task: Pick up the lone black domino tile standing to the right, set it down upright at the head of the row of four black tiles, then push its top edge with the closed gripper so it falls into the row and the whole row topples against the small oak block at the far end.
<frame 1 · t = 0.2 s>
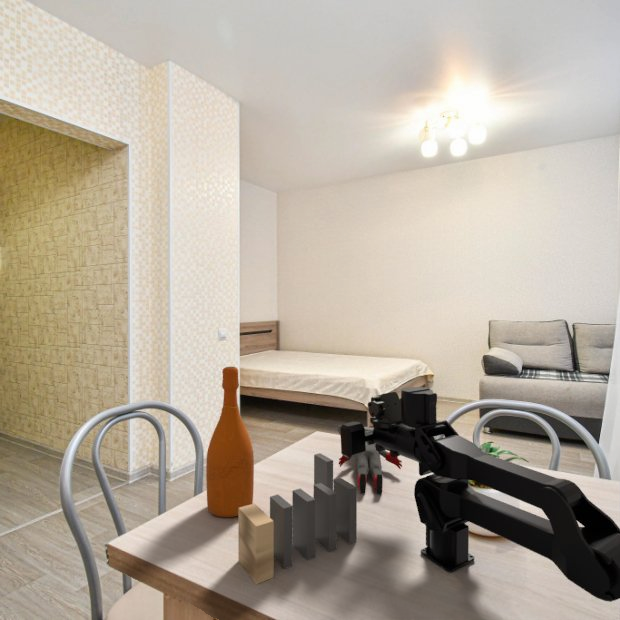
hand: (354, 423, 94), 17 cm above the table, tool horizontal, fingers open, 9 cm apart
tile 1: (323, 503, 92), on the table
tile 4: (303, 551, 74), on the table
tile 2: (344, 536, 79), on the table
toy: (369, 470, 112), on the table
tile 5: (280, 559, 72), on the table
end block: (255, 568, 69), on the table
tile 3: (324, 543, 77), on the table
wine bottle: (230, 509, 90), on the table
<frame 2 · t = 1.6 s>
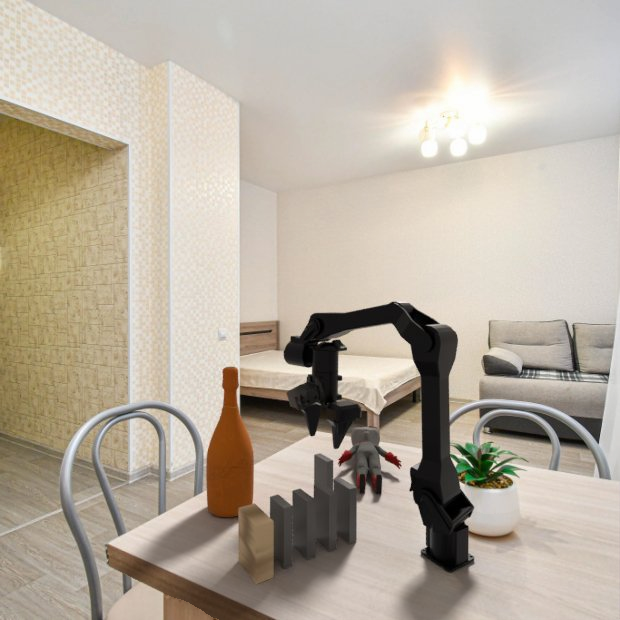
hand: (323, 442, 92), 13 cm above the table, tool pointing down, fingers open, 9 cm apart
nothing on the table moved.
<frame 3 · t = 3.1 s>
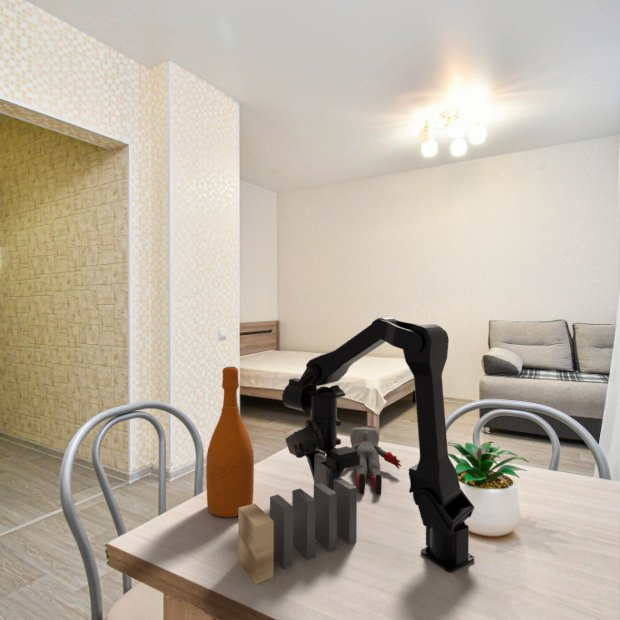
hand: (323, 486, 92), 4 cm above the table, tool pointing down, fingers closed on tile 1, 5 cm apart
tile 1: (323, 503, 92), on the table, touching gripper
everything else where it was.
when the fingers open (4 cm above the table, at t = 7.1 s): tile 1 drops 1 cm, on the table.
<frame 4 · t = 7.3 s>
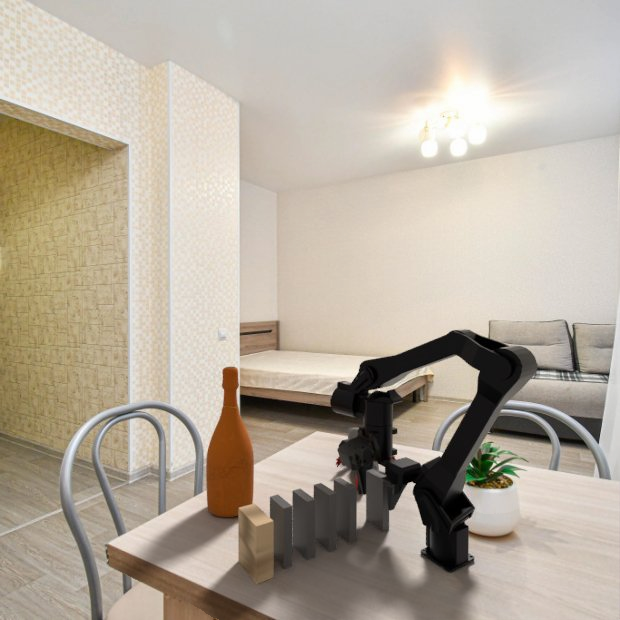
hand: (377, 501, 83), 4 cm above the table, tool pointing down, fingers open, 7 cm apart
tile 1: (377, 524, 83), on the table
everything else where it was.
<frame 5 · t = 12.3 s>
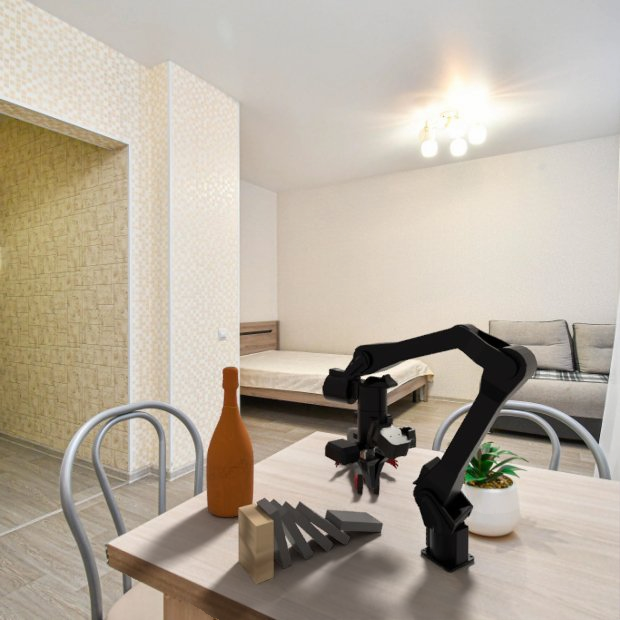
hand: (371, 488, 82), 7 cm above the table, tool pointing down, fingers closed
tile 1: (373, 521, 83), point 1 cm above the table, tilted 73°, touching tile 2
tile 4: (302, 549, 74), on the table, tilted 30°, touching tile 3, tile 5
tile 2: (339, 534, 79), point 1 cm above the table, tilted 50°, touching tile 1, tile 3
tile 5: (280, 558, 72), on the table, tilted 15°, touching end block, tile 4
tile 3: (322, 541, 77), point 1 cm above the table, tilted 43°, touching tile 2, tile 4
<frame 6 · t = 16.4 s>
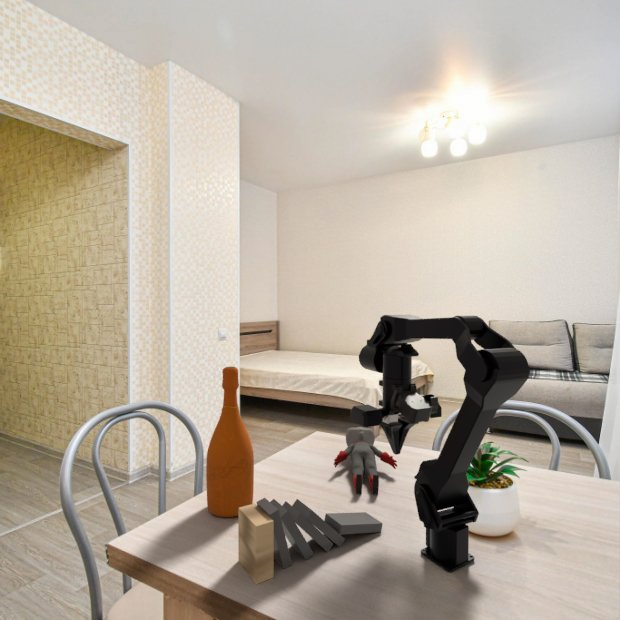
hand: (396, 453, 86), 13 cm above the table, tool pointing down, fingers closed
tile 2: (334, 536, 78), point 1 cm above the table, tilted 45°, touching tile 1, tile 3
at the end: tile 5 tilted 15°; tile 3 tilted 43°; tile 1 inside the target area (1.0 cm from its centre), point 0.7 cm above the table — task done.
